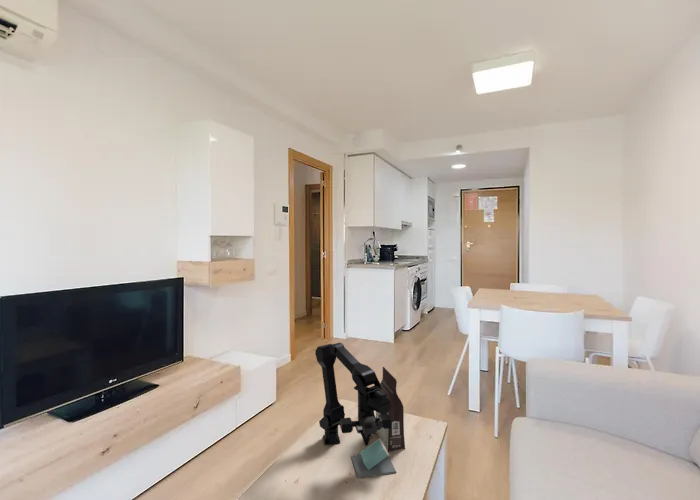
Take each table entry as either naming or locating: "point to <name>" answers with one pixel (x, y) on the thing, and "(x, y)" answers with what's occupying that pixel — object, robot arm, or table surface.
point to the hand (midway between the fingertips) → (366, 445)
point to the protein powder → (392, 415)
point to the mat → (378, 469)
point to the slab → (374, 454)
